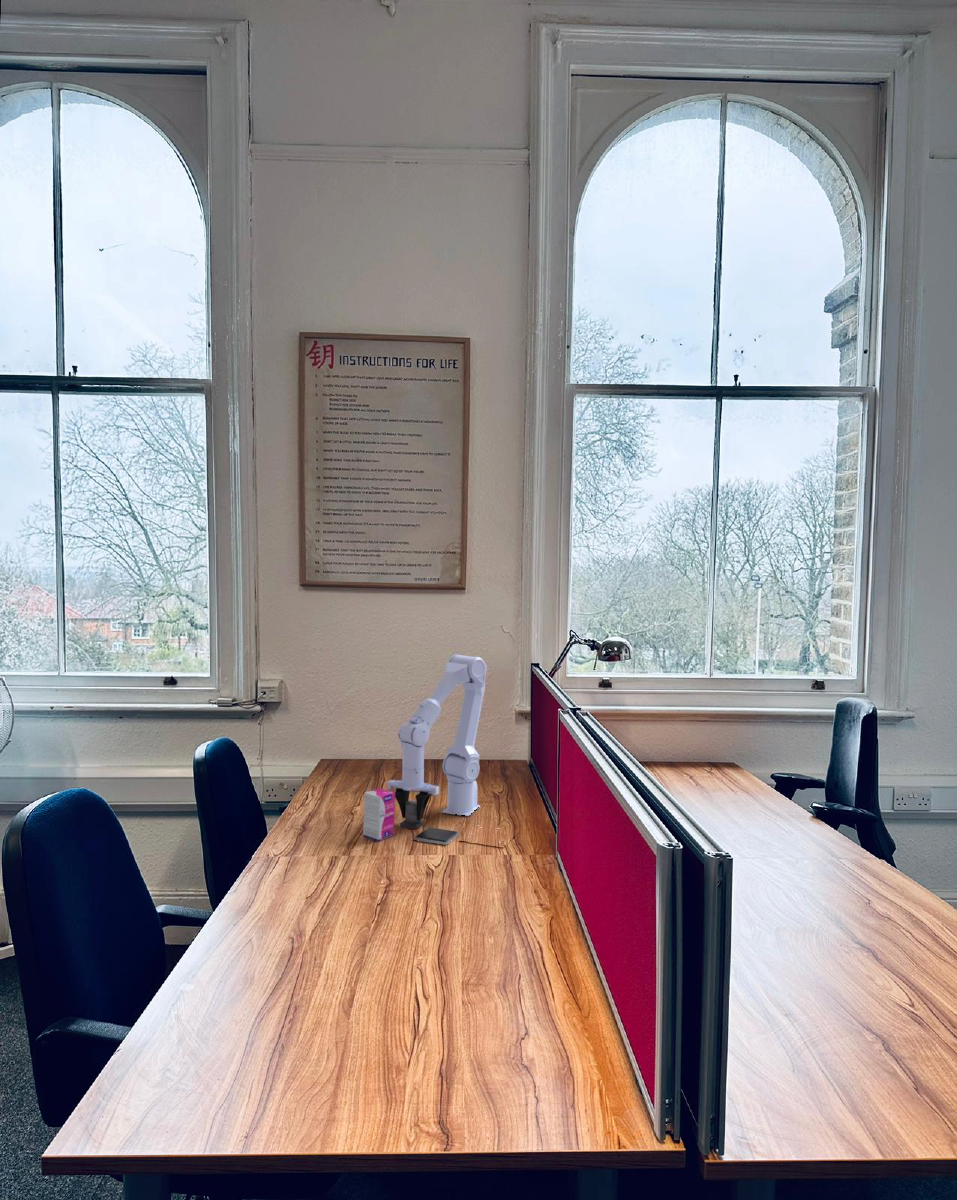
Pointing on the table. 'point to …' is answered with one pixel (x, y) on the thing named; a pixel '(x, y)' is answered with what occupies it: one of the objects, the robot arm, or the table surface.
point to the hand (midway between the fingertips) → (412, 818)
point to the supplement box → (379, 814)
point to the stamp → (411, 816)
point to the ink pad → (436, 836)
